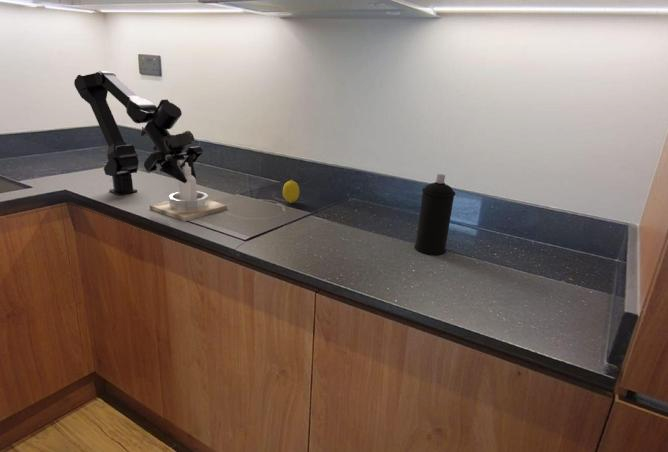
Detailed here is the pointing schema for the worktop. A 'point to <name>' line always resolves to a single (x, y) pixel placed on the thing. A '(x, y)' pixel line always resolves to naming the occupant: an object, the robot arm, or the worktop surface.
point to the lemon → (291, 191)
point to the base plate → (188, 215)
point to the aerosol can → (434, 217)
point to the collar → (188, 202)
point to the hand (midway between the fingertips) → (190, 181)
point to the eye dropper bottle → (187, 185)
